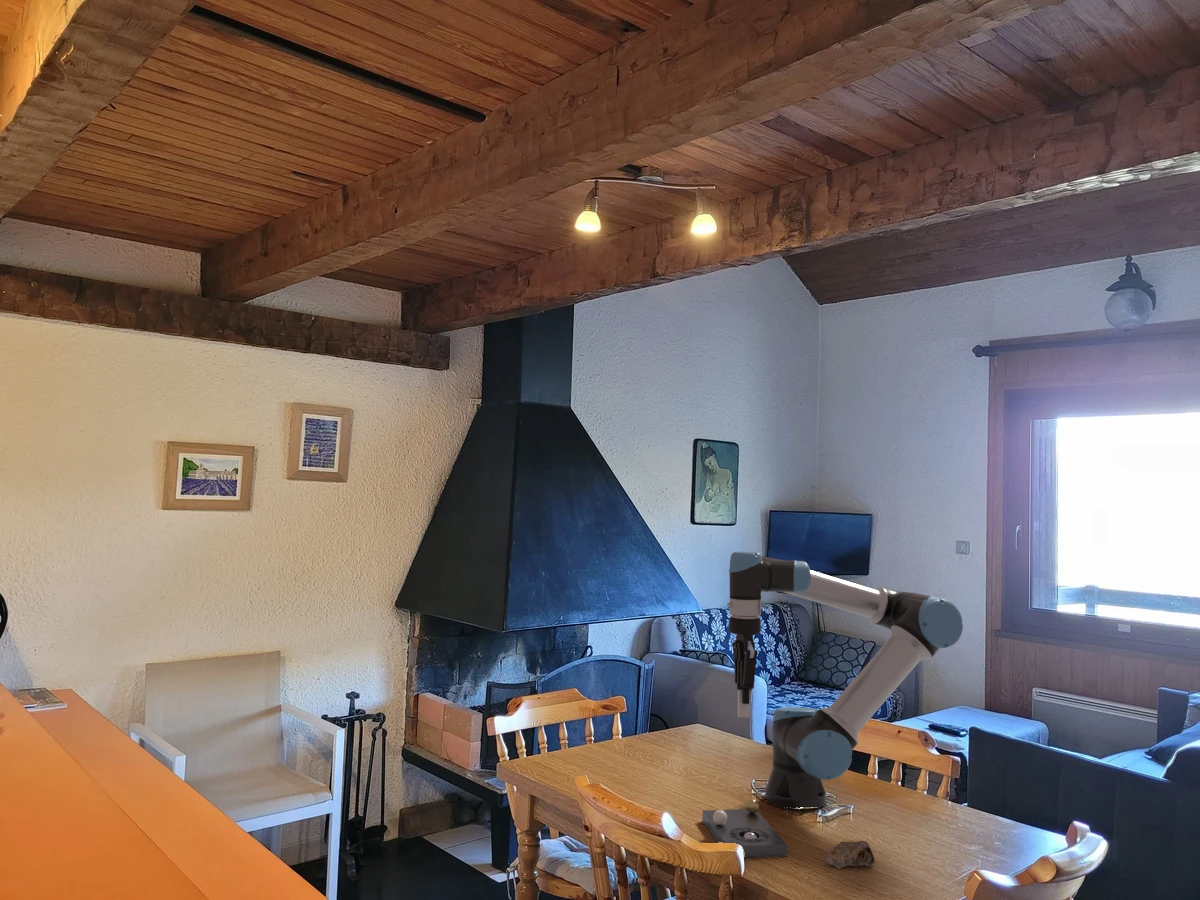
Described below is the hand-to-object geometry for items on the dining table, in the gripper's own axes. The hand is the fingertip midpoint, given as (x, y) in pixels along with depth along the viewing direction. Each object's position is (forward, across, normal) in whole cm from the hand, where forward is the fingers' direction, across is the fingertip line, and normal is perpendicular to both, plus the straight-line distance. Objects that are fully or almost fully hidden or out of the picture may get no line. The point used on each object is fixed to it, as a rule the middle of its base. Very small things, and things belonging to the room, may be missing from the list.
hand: (743, 716), depth 210 cm
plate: (+24, +10, -3) cm, 27 cm away
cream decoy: (+20, +8, -8) cm, 23 cm away
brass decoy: (+20, +2, +2) cm, 20 cm away
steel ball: (+23, +16, -3) cm, 28 cm away
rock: (+25, +25, +16) cm, 39 cm away
